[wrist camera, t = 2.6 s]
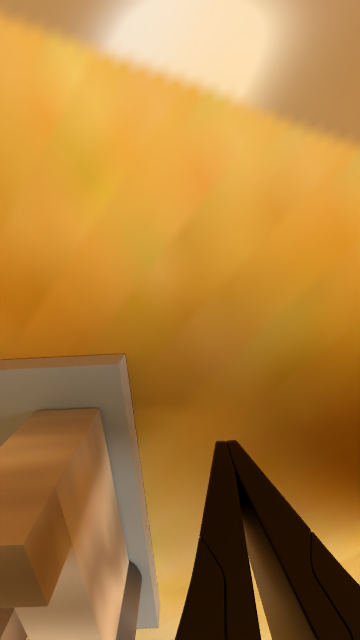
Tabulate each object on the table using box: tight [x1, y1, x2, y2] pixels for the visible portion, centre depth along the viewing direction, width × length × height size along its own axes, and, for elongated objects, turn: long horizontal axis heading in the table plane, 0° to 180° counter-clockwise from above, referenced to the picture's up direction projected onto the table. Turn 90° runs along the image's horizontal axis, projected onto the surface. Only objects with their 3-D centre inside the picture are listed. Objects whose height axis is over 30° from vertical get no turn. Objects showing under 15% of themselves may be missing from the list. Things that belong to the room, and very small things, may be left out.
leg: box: [0, 408, 142, 640], centre depth 8 cm, size 14×4×4 cm, turn 3°
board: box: [0, 354, 160, 629], centre depth 12 cm, size 20×15×1 cm
